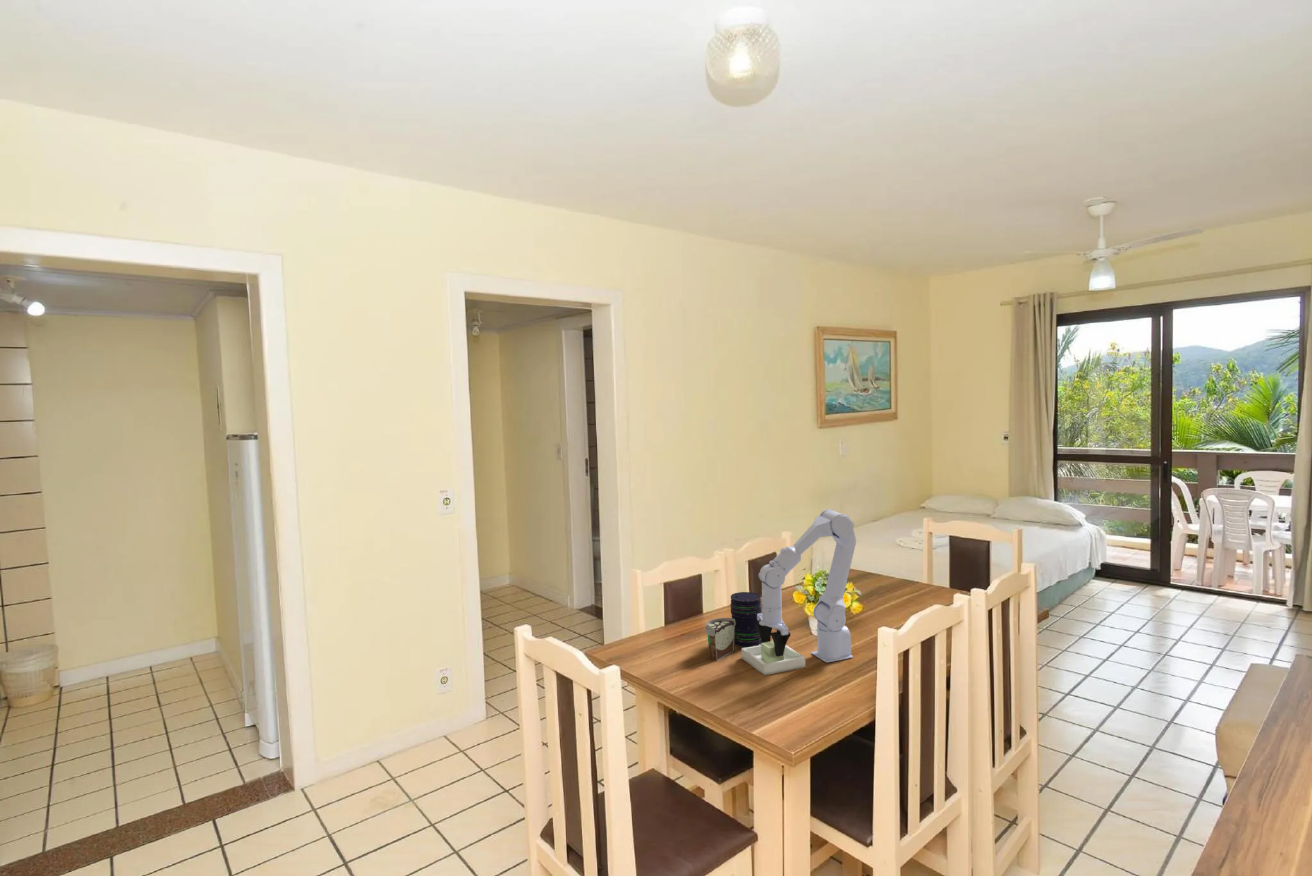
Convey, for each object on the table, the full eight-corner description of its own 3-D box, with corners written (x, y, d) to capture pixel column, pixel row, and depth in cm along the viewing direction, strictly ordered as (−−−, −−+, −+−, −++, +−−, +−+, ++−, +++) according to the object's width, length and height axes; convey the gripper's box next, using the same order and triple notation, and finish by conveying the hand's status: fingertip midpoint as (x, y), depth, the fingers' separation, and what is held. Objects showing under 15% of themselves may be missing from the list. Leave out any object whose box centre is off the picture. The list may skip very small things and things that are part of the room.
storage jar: (761, 636, 214) (760, 592, 213) (763, 647, 204) (762, 601, 204) (730, 636, 215) (729, 591, 214) (731, 647, 205) (730, 601, 205)
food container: (719, 645, 207) (719, 614, 207) (736, 649, 203) (735, 618, 203) (697, 658, 198) (696, 625, 197) (714, 662, 194) (713, 629, 193)
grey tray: (780, 651, 201) (780, 641, 201) (805, 667, 189) (805, 657, 189) (741, 658, 197) (741, 648, 196) (764, 675, 184) (764, 665, 184)
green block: (775, 656, 195) (775, 640, 195) (783, 662, 191) (783, 645, 191) (761, 659, 194) (761, 643, 193) (769, 665, 189) (769, 648, 189)
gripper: (748, 601, 197) (748, 644, 198) (772, 615, 183) (773, 662, 184) (768, 598, 200) (769, 641, 200) (794, 611, 186) (795, 658, 187)
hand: (772, 651), depth 192 cm, fingers open, 7 cm apart
